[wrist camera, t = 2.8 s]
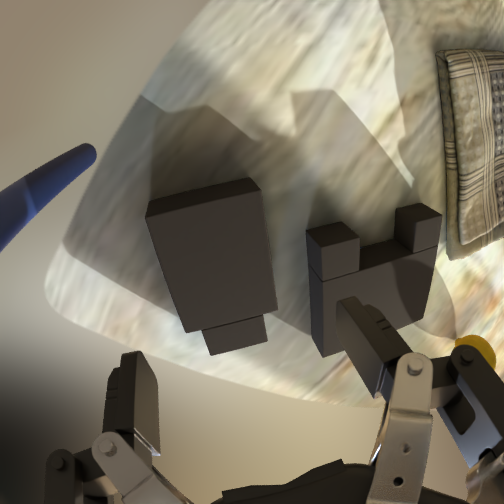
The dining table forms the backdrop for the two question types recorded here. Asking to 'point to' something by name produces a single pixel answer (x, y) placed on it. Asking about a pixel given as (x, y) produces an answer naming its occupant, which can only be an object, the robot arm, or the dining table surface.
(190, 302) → the pad
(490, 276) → the dining table surface
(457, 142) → the dish towel
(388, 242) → the notch pad
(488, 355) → the lemon
